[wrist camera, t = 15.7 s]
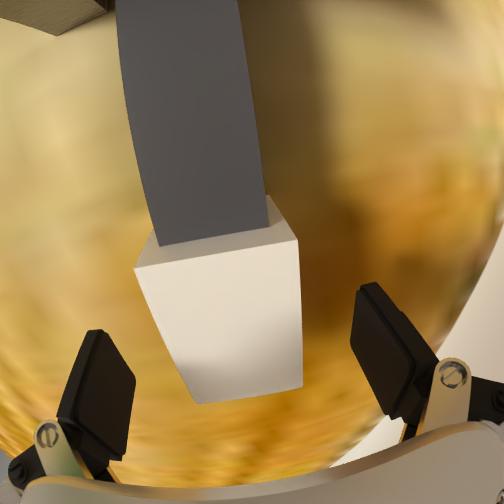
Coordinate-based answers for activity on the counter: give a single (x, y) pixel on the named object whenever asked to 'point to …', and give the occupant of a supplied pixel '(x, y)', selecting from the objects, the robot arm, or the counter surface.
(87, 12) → the housing
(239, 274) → the plug
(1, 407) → the counter surface
